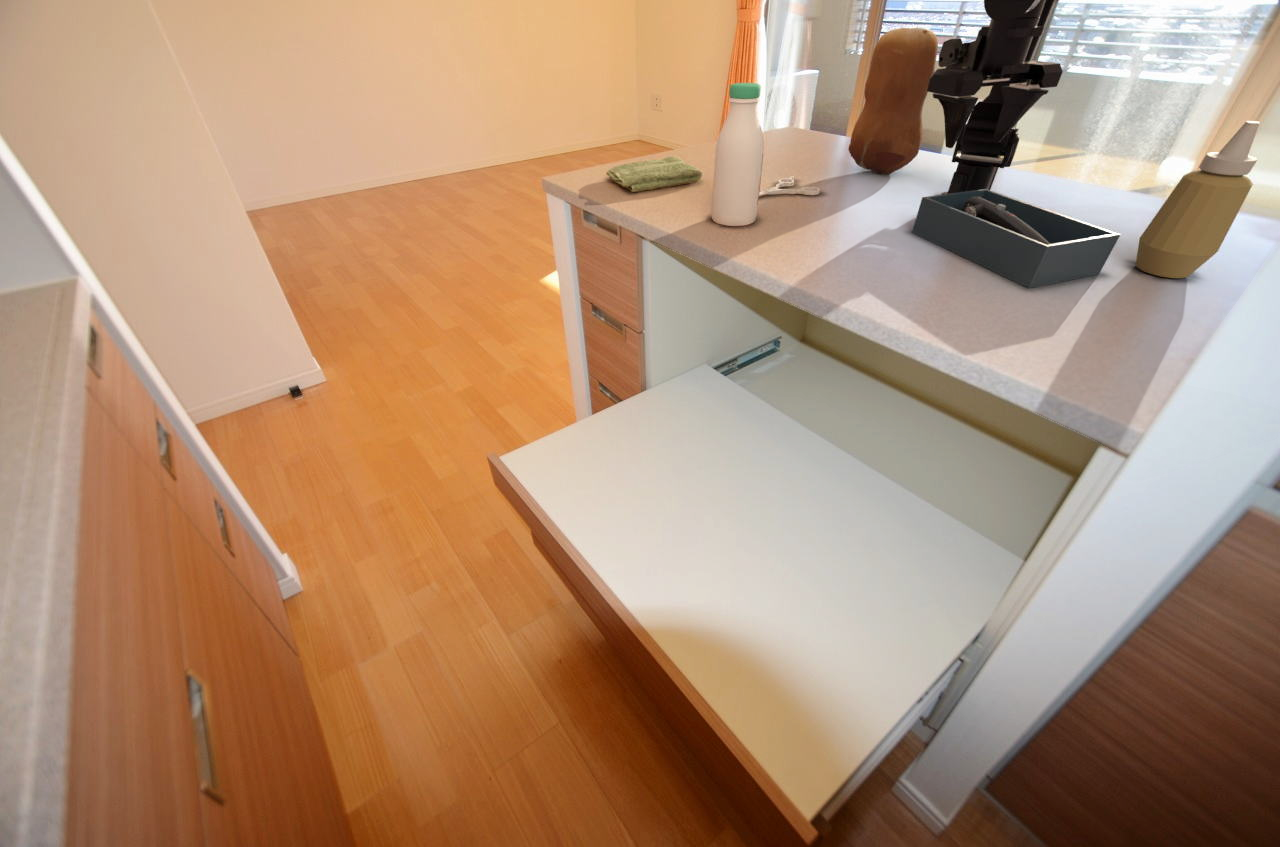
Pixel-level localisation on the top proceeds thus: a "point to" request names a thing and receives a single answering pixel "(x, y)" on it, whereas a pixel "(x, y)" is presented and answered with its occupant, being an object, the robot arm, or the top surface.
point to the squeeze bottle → (1199, 210)
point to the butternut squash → (894, 100)
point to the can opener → (1000, 217)
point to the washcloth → (654, 174)
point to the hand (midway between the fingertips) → (973, 144)
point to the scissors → (789, 183)
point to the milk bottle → (738, 159)
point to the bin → (1016, 239)
